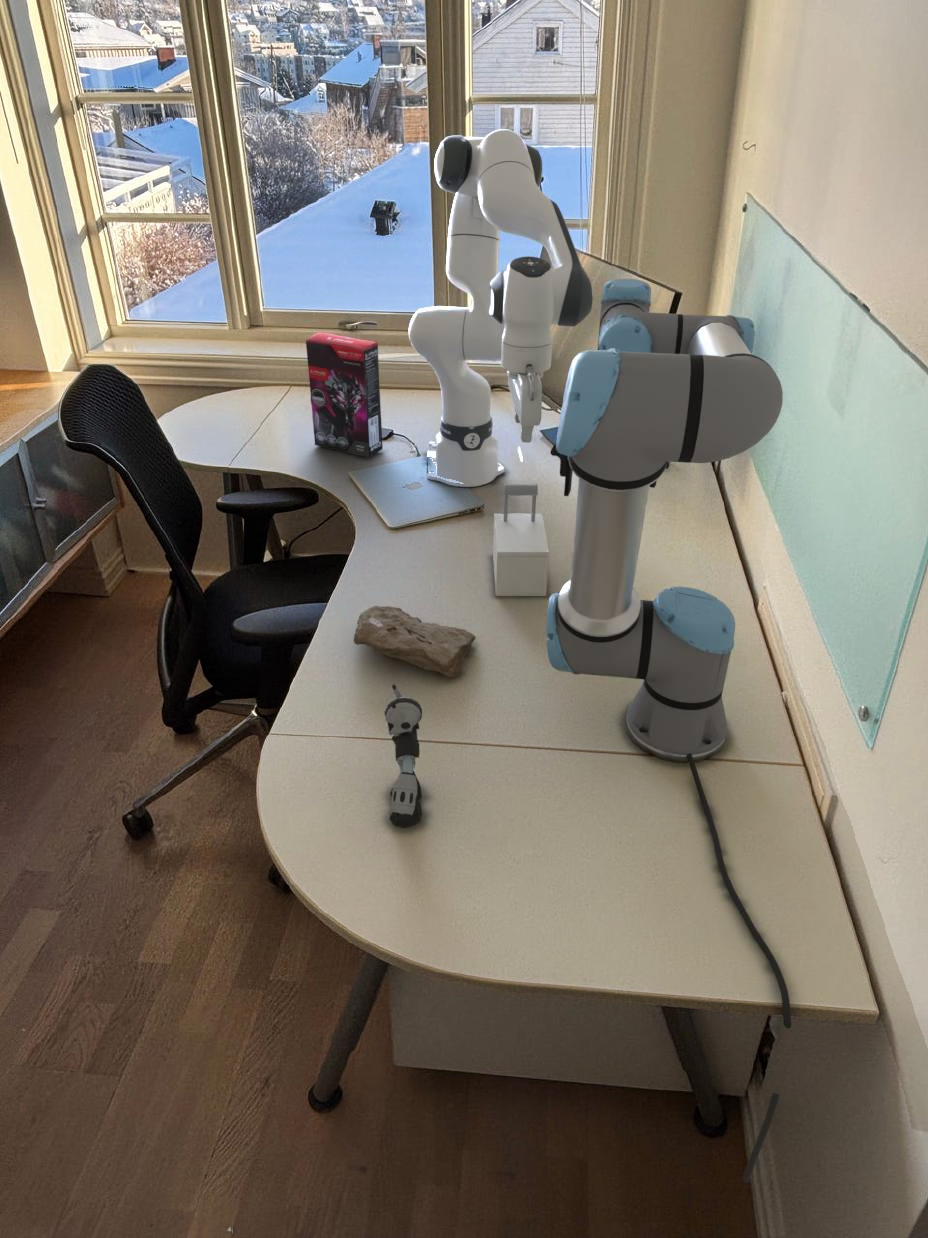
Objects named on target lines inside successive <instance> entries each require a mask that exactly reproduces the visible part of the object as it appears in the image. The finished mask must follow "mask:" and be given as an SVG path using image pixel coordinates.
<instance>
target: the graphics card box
mask: <svg viewBox="0 0 928 1238" xmlns="http://www.w3.org/2000/svg"><path fill="white" fill-rule="evenodd" d="M305 346H306V347H305V348H306V358H307V367H308V379H309V380H308V381H309V393H310V403H311V404H310V405H311V415H312V424H313V425H312V426H313V436H314V437H313V438H314V446H317V447H322V448H327V449H329V450H330V449H331V450H335V451H339V452H344V453H347V454H352V455H356V456H361V457H366V458H371V457H372V456H373V455H376V454H377V453H378V452H381V451H382V450H383V449H384V448H383V428H382V427H383V426H382V410H381V407H382V406H381V389H380V388H381V386H380V368H379V367H380V366H379V365H380V363H379V343H378V341H375V340H374V341H371V340H367V339H366V340H364V339H360V338H354V337H349V336H344V335H338V334H334V333H333V334H332V333H327V332H322V331H321V332H317V333H314V334H313V335H311V336H309V337H308V338H306V340H305Z"/></svg>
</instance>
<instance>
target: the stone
mask: <svg viewBox="0 0 928 1238" xmlns="http://www.w3.org/2000/svg"><path fill="white" fill-rule="evenodd" d="M356 624H357V626H356V629H355V633H354V635H353V642H354V644H355V645H357V646H358V645H365V646H369V647H370V648H371V649H372V650H373V652H376V653H377V654H382V655H386V656H387V657H391V658H394V659H399V660H401V661H404V662H406V663H410V664H411V665H414V666H417V667H419V668H420V669H423V670H425V671H433V672H438V673H440V674H442V675H443V677H446V678H447V677H448V678H449V679H450V678H454V677H457V675H458V674H459V673H460V671H461V669H462V667H463V662H464V658H466V656H467V654H468V652H469V650H470V649H471V647H472V644H473V642H474V641H476V638H477V637H476V636H475V634H473V633H472V632H470V631H467V629H464V628H460V627H454V626H448V625H447V626H446V625H441V624H438V623H435V622H433V623H431V622H424V621H422V620H421V619H420V618H419V617H417V616H415V617H414V616H412V615H411V614H409V613H408V612H405V611H404V610H403V609H402V608H401V607H396V606H391V605H385V606H382V605H381V606H380V605H374V606H372V607H369V608H368V609H366V610H364V611H363V612H361V613H360V614H359V616H358V619H357V623H356Z"/></svg>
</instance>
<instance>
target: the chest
mask: <svg viewBox="0 0 928 1238" xmlns="http://www.w3.org/2000/svg"><path fill="white" fill-rule="evenodd" d="M492 542H493V547H492V561H493V575H494V588H495V596H496V597H547V589H548V574H549V561H550V555H549V556H497V547H496V535H495V523H494V522H493V541H492Z"/></svg>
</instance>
